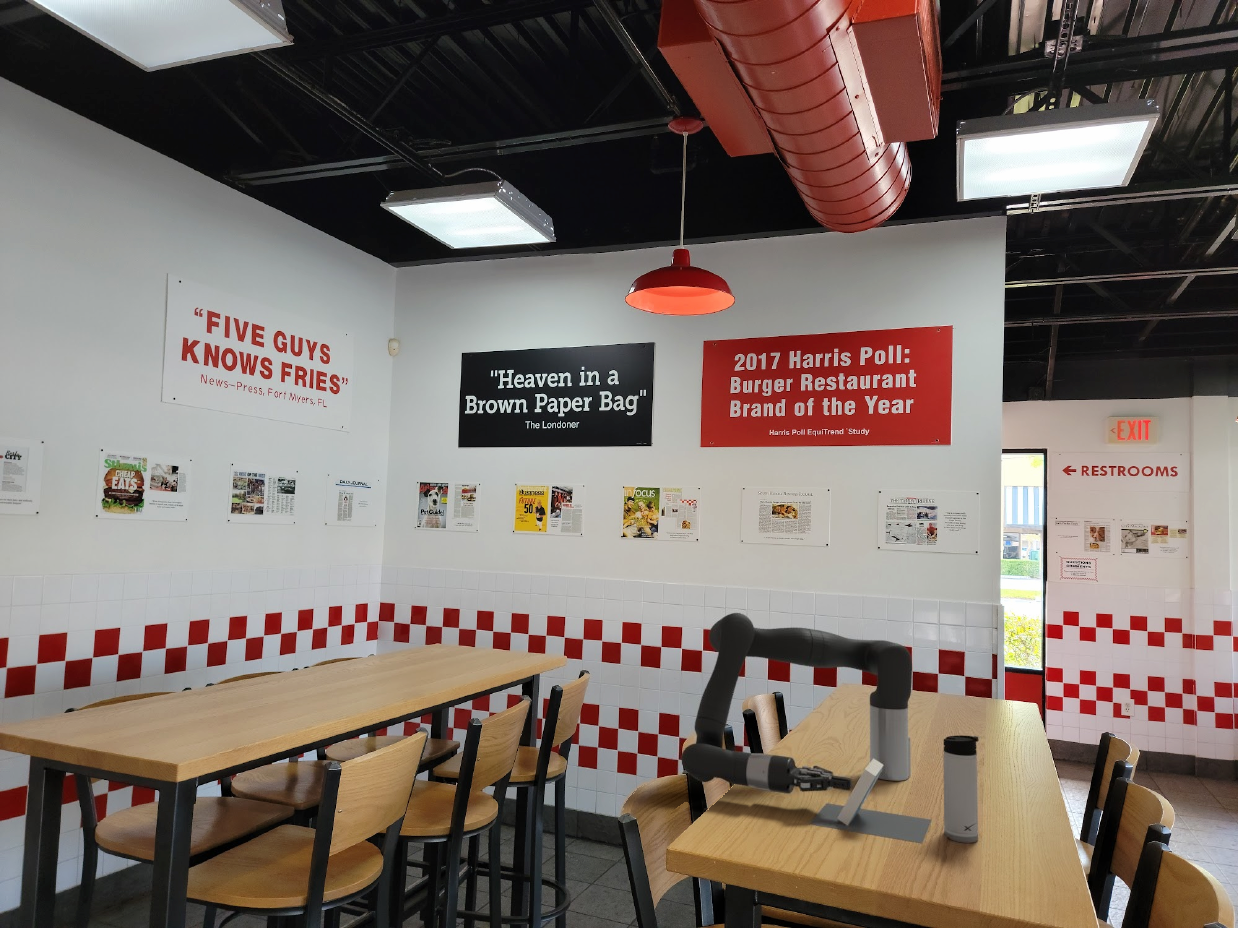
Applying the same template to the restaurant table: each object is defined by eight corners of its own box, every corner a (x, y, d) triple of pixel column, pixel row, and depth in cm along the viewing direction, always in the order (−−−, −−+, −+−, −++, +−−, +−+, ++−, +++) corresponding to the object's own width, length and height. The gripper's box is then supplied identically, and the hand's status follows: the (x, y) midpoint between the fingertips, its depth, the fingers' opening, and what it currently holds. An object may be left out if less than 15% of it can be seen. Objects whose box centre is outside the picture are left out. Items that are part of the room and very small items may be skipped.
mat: (809, 826, 174) (809, 823, 174) (826, 805, 188) (826, 802, 189) (922, 845, 164) (922, 843, 164) (931, 821, 179) (931, 819, 179)
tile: (837, 818, 175) (864, 768, 173) (847, 805, 184) (873, 758, 182) (848, 826, 174) (876, 776, 172) (858, 812, 183) (884, 765, 181)
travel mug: (976, 845, 165) (975, 740, 167) (941, 838, 169) (940, 735, 170) (982, 836, 170) (980, 734, 172) (947, 830, 174) (946, 730, 176)
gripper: (762, 761, 181) (844, 773, 173) (779, 748, 193) (857, 758, 185) (761, 798, 180) (844, 811, 173) (779, 782, 192) (857, 794, 184)
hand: (851, 784), depth 179 cm, fingers closed
